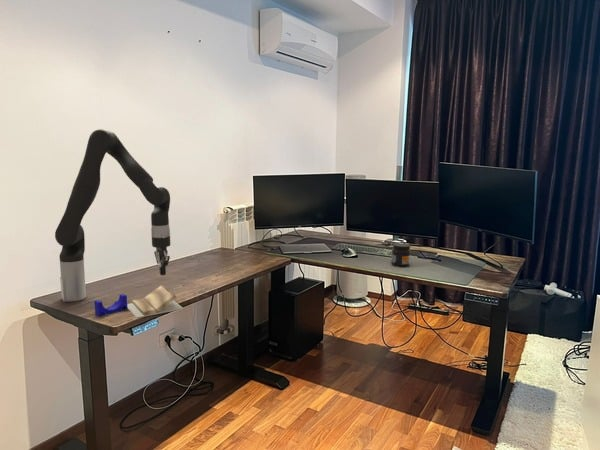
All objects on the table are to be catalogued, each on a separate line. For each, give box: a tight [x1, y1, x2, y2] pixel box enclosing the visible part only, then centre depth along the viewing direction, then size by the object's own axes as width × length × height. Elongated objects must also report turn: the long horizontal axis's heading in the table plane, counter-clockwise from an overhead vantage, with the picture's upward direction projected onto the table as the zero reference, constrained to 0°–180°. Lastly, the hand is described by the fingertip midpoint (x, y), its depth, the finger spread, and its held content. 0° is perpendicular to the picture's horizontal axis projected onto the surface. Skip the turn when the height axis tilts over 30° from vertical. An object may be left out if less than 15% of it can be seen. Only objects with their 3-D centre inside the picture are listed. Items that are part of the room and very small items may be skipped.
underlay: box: [127, 299, 184, 319], centre depth 193 cm, size 19×17×1 cm
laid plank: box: [131, 297, 157, 315], centre depth 191 cm, size 5×16×2 cm, turn 35°
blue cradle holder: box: [94, 293, 128, 318], centre depth 187 cm, size 12×4×6 cm, turn 139°
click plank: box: [144, 284, 178, 312], centre depth 194 cm, size 9×16×2 cm
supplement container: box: [391, 242, 412, 268], centre depth 267 cm, size 10×10×12 cm
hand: (162, 274), depth 199 cm, fingers closed
